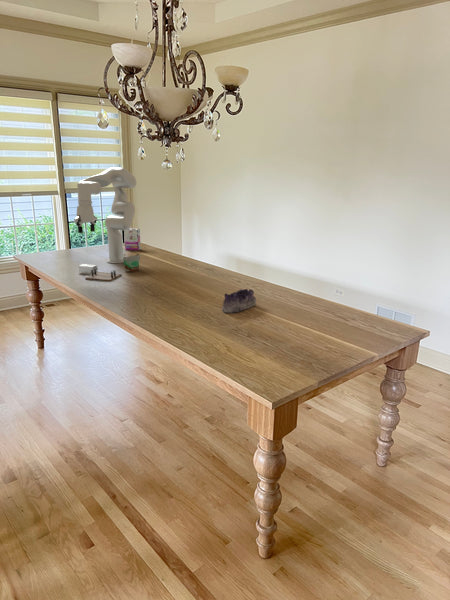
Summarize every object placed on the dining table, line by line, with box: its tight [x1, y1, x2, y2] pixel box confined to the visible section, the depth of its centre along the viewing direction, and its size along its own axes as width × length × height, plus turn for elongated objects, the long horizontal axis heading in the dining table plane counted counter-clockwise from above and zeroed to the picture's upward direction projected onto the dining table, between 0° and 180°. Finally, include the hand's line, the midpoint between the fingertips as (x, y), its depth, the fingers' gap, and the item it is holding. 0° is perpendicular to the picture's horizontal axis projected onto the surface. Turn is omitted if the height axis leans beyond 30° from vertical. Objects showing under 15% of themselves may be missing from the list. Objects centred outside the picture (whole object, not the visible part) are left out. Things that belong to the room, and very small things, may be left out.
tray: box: [85, 271, 122, 283], centre depth 262 cm, size 14×16×1 cm
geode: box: [221, 288, 257, 315], centre depth 212 cm, size 20×12×10 cm, turn 143°
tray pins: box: [90, 268, 117, 278], centre depth 261 cm, size 4×14×4 cm, turn 74°
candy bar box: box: [123, 227, 142, 251], centre depth 338 cm, size 11×5×16 cm, turn 80°
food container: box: [123, 253, 141, 273], centre depth 276 cm, size 12×6×10 cm, turn 143°
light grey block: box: [78, 263, 99, 275], centre depth 272 cm, size 5×10×5 cm, turn 74°
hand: (86, 232), depth 266 cm, fingers open, 9 cm apart
